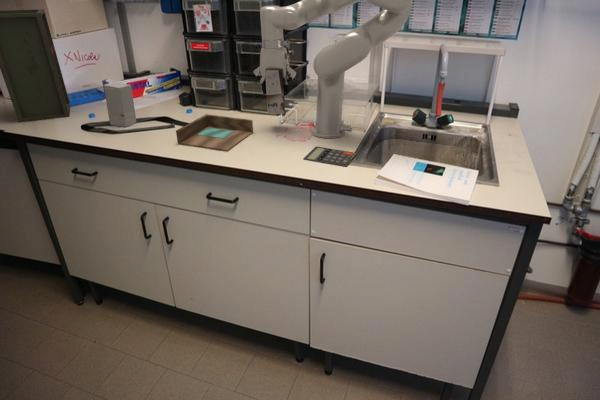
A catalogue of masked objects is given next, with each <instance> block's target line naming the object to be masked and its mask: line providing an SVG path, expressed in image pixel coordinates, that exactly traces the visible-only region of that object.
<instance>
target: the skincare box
mask: <svg viewBox="0 0 600 400" xmlns="http://www.w3.org/2000/svg"><path fill="white" fill-rule="evenodd" d="M103 89H104V95H105V101H106V108H107V114H108V121H109V124H110V126H116V127H123V128H128V127H130V126H133V125H136V124H137V117H136V111H135V102H134V95H133V87H132V84H129V83H128V84H127V83H125V82H118V81H114V82H110V83H105V84H103Z"/></svg>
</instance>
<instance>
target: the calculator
mask: <svg viewBox="0 0 600 400" xmlns="http://www.w3.org/2000/svg"><path fill="white" fill-rule="evenodd" d="M354 153H356V152H355V151H347V150H341V149H336V148H328V147H322V146H318V145H317V146H314V148H313V149H311V151H309V152H308V153H307V154H306V155H305V156H304V157H303V160H304V161H308V162H315V163H321V164H326V165H333V166H339V167H343V168H347V167H349V165H350V164H351V162H352V161H351V158H352V156H353V155H354Z"/></svg>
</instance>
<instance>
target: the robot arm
mask: <svg viewBox="0 0 600 400" xmlns="http://www.w3.org/2000/svg"><path fill="white" fill-rule="evenodd" d="M360 1H362V2H363V1H364V2H365V3H368V4H370V5H373V6H375V7H378V8H380V9H382V10H381V11H379V12H378V13H377V14H375V15H374V16H373V17H372V18H370V19H368V20H367V21H365V22H364V23H363V24H361V25H359V26H357V27H356V28H355V27H354V28H353V29H351V30H349V32H348V33H347V34H345V35H343V36H342V37H341V38H339V39H337V41H336V40H335V42H333V43H331V44H328V45H326V46H324V47H323V48H322V49H320V51H319V52H318V53H317V54H316V55H315V57H314V59H313V65H312V66H313V70H314V71H313V72H314V73H315V75H316V76H317V80H316V81H317V83H316V85H317V87H316V116H315V117H316V119H315V120H316V122H315V123H316V124H315V126H314V127H312V129H311V133H312V134H313V135H314V136H315V137H318V138H323V139H336V138H341V137H343V136H345V134H346V132H347V133H352V131H353V126H352V125H351V124H345V122H344V121H345V120H342V119H343V117H342V116H343V103H344V85H345V72H346V71H348V70H350V69H352V68H353V67H355V66H356V65H358V64H360V63H361V62H362V61H364V60H365V59H366V58H367V57H368V56H369V54H370V52H371V51H372V50H373V49H375V48H376V47H378V46H380V45H381V44H383V43H384V42H386V41H387V40H388V39H391V38H392V37H393V36H394V35H396V34H397V33H398V32H400V31H401V29H402V28H403V27H404V25H405V24H406V22H407V20H408V19H409V17H410V15H411V14H410V13H411V10H412V6H413V0H299V1H298V2H295V3H293V4H290V5H287V6H280V5H265V6H264V5H263V6H262V7H261V8H260V11H259V14H260V16H259V17H260V27H261V28H260V29H261V30H260V31H261V42H262V43H261V44H262V45H261V46H262V48H260V54H259V66H258V67H257V68H255V69H254V70H253V74H254V75H255V77H256V79H257V80H258V81H259V82H260V84H261V91H262V94H263V95H266V79H265V69H282V70H283V82H284V85H283V88H284V96H285V97H286V96H287V95H289V93H290V83H291V82H292V81H293V79H294V78H295V76H296V75H297V72H296V71H295V70H294V69H293V68H291V67H290V62H289V55H288V51H287V47H285V46H287V45H288V42H287V41H286V40H285V39H284V30H288V31H293V30H297V29H299V28H300V27H302V26H304V25H305V24H308V23H310V22H313V21H315V20H317V19H319V18H321V17H323V16H327V15H331V14H334V13H337V12H339V11H341V10H343V9H345V8H347V7H350V6H352V5H354V4H356V3H359V2H360ZM289 75H290V76H289Z"/></svg>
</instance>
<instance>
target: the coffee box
mask: <svg viewBox="0 0 600 400" xmlns="http://www.w3.org/2000/svg"><path fill="white" fill-rule="evenodd" d="M265 79H266V94H265V95H266V107H267V114H268V115H284V114H285V111H286V96H284V88H283V85H284V82H283V70H282V69H265Z"/></svg>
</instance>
